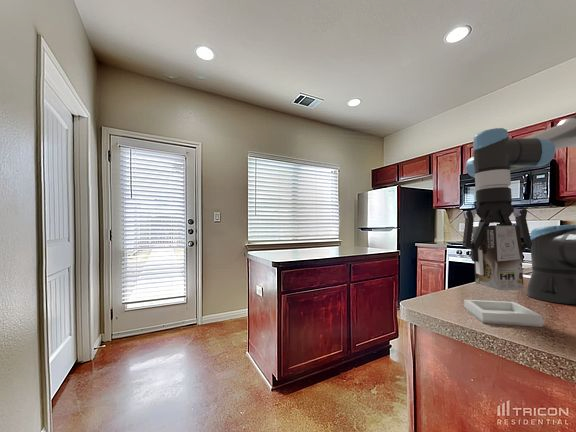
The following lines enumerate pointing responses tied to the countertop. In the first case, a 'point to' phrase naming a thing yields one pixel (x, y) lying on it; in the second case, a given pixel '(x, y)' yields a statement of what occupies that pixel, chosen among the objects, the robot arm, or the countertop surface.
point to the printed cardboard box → (501, 257)
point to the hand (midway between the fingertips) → (497, 274)
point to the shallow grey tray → (503, 313)
